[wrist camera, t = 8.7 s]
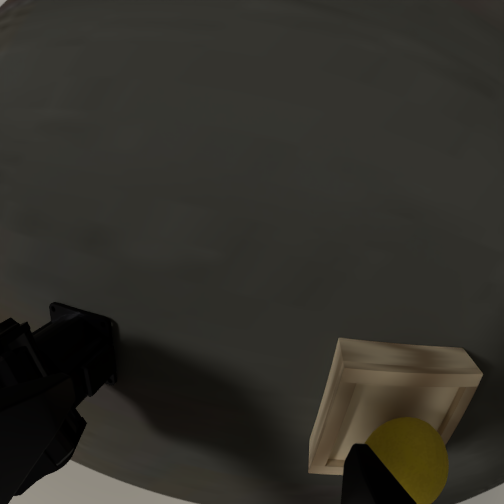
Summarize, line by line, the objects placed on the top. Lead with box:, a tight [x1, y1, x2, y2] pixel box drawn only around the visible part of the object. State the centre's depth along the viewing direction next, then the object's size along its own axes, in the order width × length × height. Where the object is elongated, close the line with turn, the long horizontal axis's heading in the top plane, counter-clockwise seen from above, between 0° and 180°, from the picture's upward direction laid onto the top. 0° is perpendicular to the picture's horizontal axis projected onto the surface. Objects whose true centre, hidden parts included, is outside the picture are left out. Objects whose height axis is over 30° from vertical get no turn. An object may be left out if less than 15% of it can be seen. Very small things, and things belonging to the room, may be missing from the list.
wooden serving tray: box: [308, 338, 483, 475], centre depth 19 cm, size 10×10×4 cm
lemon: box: [365, 417, 449, 504], centre depth 14 cm, size 6×6×8 cm
